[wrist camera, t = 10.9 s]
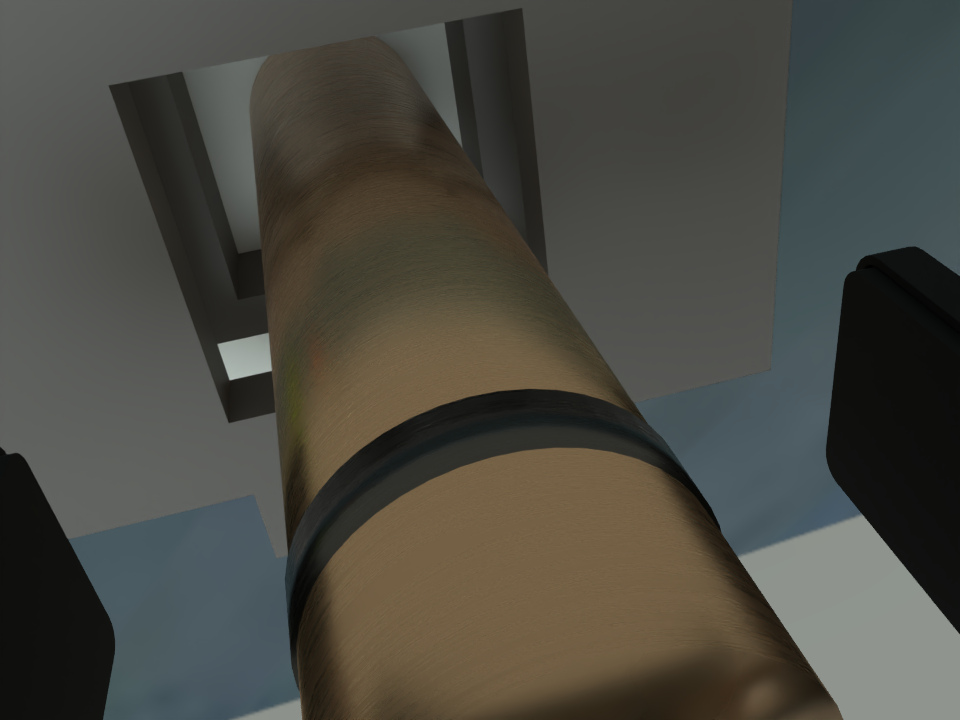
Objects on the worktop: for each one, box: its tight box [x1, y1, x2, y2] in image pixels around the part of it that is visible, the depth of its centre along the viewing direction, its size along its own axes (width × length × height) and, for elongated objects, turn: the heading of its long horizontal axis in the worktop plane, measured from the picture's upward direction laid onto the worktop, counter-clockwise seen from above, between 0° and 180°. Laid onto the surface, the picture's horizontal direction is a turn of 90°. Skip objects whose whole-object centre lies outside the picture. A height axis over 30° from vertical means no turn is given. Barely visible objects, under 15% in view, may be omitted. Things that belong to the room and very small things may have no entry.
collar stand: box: [0, 0, 793, 558], centre depth 19 cm, size 18×14×8 cm
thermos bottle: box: [249, 36, 843, 720], centre depth 14 cm, size 4×4×18 cm
